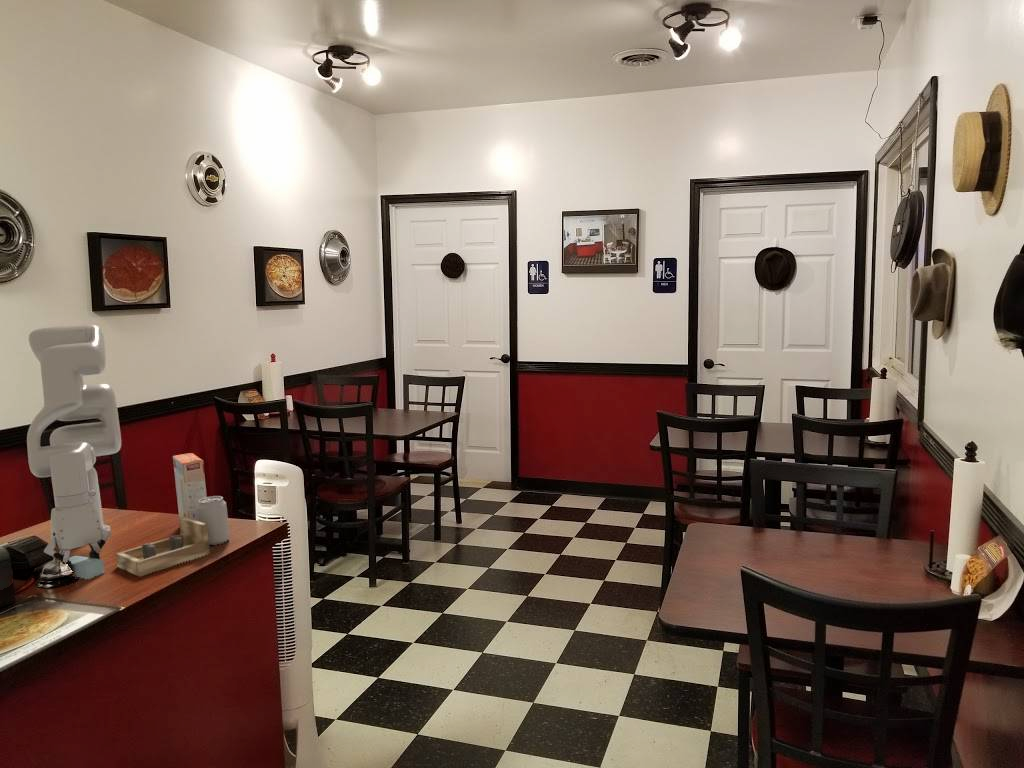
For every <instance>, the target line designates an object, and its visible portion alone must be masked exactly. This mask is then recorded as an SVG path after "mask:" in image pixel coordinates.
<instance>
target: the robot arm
mask: <svg viewBox="0 0 1024 768" xmlns="http://www.w3.org/2000/svg"><path fill="white" fill-rule="evenodd" d="M104 337H105V336H104V333H103V331H102V329H101V328H100V327H99V326H97V325H95V324H82V325H81V324H80V325H69V326H68V325H66V326H65V325H64V326H49V327H42V328H41V327H40V328H38V329H34V330H32V331H31V332H30V333H29V335H28V342H29V346H30V349H31V351H32V352H33V355H34V356H35V357H36V359H37V360H38V361H39V365H40V373H41V382H42V392H43V394H42V395H43V396H42V397H43V407H42V409H40V410H39V412H38V413H37V414H36V415H35V417H34V418H33V420H32V422H31V423H30V425H29V427H28V429H27V430H28V431H27V434H26V435H27V436H26V446H27V458H28V459H27V460H28V465H29V470H30V472H31V474H33V476H35V477H36V478H49V477H51V483H52V490H53V499H54V506H55V507H53V508H52V509H51V513H50V536H51V537H50V541H49V542H48V543H47V545H46V547H45V548H44V550H43V553H44V554H46V555H48V556H51V557H54V558H55V559H57V560H59V561H61V562H62V563H63V564H65V563H66V564H68V566H69V567H70V568H71V570H72V564H71V561H69V558H70V553H71V551H72V549H76V548H79V547H82V546H84V547H85V546H87V545H88V547H89V548H90V552H89V554H88V555H89V558H95V559H101V557H100V553H101V552H102V549H103V547H104V546H105V544H106V543H107V542H108V540H109V539H110V537H111V536H112V533H111V526H110V525H107V524H105V523H104V517H103V511H102V510H103V509H102V500H101V493H100V486H99V479H98V472H97V470H96V468H94V467H95V466H94V465H95V463H96V461H97V457H101V456H108V455H113V454H116V453H118V452H119V451H121V448H122V436H121V435H122V434H121V433H122V432H121V427H120V419H119V411H118V406H117V405H118V403H117V399H116V395H115V392H114V391H115V390H114V389H113V388H112V387H111V385H109V384H108V383H107V384H106V383H93V384H85V383H84V379H83V378H84V377H83V376H92V375H93V376H94V375H100V374H102V373H103V372H104V371H105V368H106V349H105V346H106V345H105V339H104ZM91 419H98V420H100V421H98V422H97V421H96V422H90V423H89V422H88V423H80V424H70V425H69V424H68V425H64V426H61V427H58V428H56V429H54V430H53V431H52V433H50V437H49V444H50V445H46V446H45V445H44V446H41V436H42V435H43V434H42V433H43V432H44V431H45V430H46V429H47V427H48V426H50V425H51V424H52V423H54V422H55V421H60V422H73V421H82V420H83V421H84V420H91ZM55 548H57V549H58V550H59V552H57V551H55ZM72 573H73V572H72Z"/></svg>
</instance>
